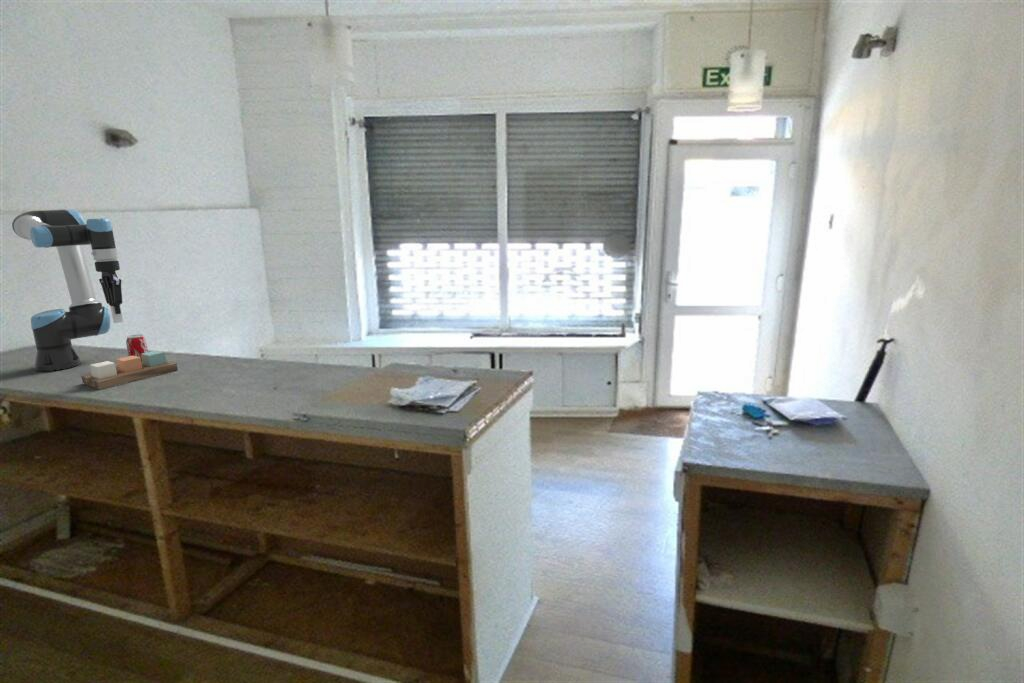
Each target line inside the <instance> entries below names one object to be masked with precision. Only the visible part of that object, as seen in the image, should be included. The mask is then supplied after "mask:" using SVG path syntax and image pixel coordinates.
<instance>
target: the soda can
mask: <svg viewBox="0 0 1024 683" xmlns="http://www.w3.org/2000/svg"><path fill="white" fill-rule="evenodd" d="M146 339H147V338H145V337H144V335H143V334H132V335H128V336H126V339H125V340H126V341H125V344H126V350H127V354H128V356H137V357H140V358H141V362H143V361H142V356H141V354H142V353H147V352H149V349H148V344H147V340H146ZM128 356H127V357H128Z"/></svg>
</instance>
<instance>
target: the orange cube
mask: <svg viewBox="0 0 1024 683" xmlns="http://www.w3.org/2000/svg"><path fill="white" fill-rule="evenodd" d="M115 360H116V363H117V364H116V365H117V368H118V371H120V372H123V373H127V372H132V371H136V370H140V369H142V363H141V358H140V357H137V356H123V357H120V358H116V359H115Z"/></svg>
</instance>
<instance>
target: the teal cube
mask: <svg viewBox="0 0 1024 683" xmlns="http://www.w3.org/2000/svg"><path fill="white" fill-rule="evenodd" d="M141 356H142V361H143V365H144V366H147V367H153V366H157V365H162V364H166V361H167V359H166V354H165V351H161V350H158V349H157V350H152V351H148V352H147V353H142V354H141Z"/></svg>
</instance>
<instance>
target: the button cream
mask: <svg viewBox="0 0 1024 683" xmlns="http://www.w3.org/2000/svg"><path fill="white" fill-rule="evenodd" d="M89 368H90V374H92V377H93V378H96V379H102V378H106V377H110V376H115V375H117V371H116V368H117V366H116V362H113V361H109V360H106V361H102V362H98V363H97V362H96V363H92V364H89Z"/></svg>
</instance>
